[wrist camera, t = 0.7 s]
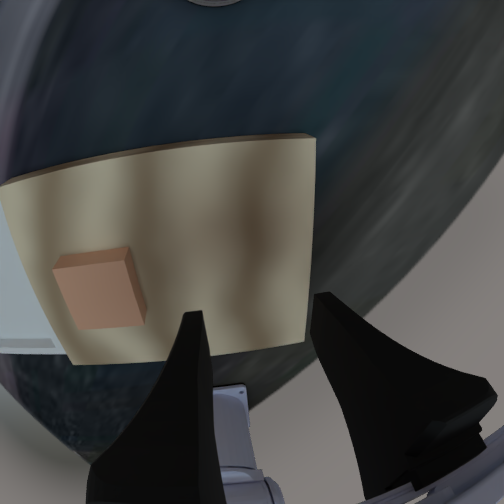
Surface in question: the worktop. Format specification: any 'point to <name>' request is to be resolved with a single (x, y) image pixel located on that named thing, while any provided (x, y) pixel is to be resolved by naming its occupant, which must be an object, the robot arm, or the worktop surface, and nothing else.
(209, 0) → the pill bottle
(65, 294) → the terracotta tile
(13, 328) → the tray
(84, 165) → the chopping board
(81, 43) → the worktop surface
